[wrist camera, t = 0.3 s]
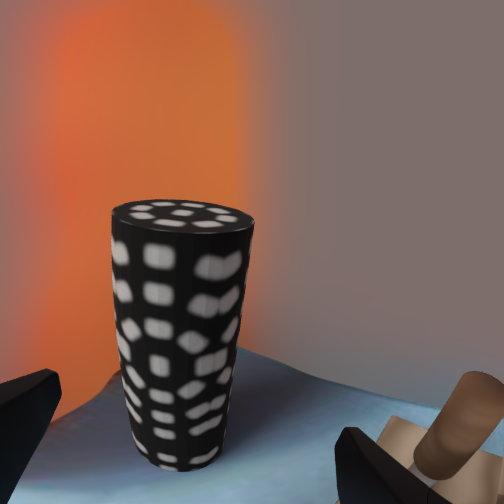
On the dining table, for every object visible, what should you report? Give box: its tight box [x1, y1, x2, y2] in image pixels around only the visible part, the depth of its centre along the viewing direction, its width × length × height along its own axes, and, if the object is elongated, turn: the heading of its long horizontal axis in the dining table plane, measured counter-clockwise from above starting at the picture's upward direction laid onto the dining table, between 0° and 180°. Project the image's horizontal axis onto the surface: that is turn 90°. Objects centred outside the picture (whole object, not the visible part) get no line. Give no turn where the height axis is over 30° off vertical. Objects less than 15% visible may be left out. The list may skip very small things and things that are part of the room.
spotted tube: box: [111, 199, 255, 472], centre depth 21 cm, size 8×8×20 cm
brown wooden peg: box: [408, 371, 504, 488], centre depth 15 cm, size 4×4×11 cm
